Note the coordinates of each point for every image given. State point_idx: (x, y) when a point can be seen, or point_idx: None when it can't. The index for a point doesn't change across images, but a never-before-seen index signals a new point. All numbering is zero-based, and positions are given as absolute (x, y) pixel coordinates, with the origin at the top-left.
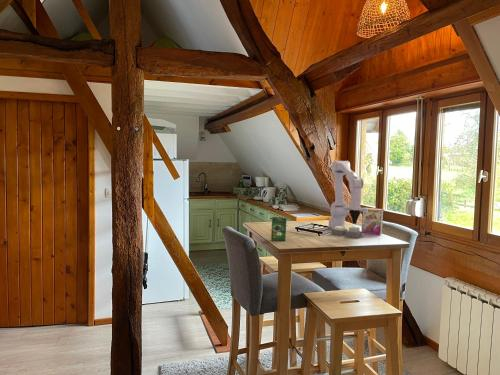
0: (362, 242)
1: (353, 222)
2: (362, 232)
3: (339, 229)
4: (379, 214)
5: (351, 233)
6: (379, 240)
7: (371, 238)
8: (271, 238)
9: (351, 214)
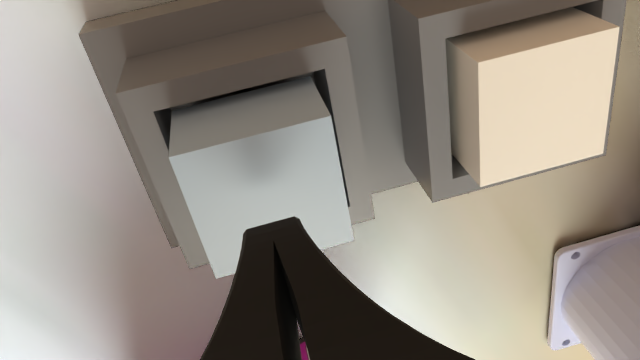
0: (21, 50)
1: (276, 231)
2: None
3: (501, 41)
4: None
5: (233, 58)
6: (30, 321)
7: (163, 316)
8: None
9: (368, 349)
